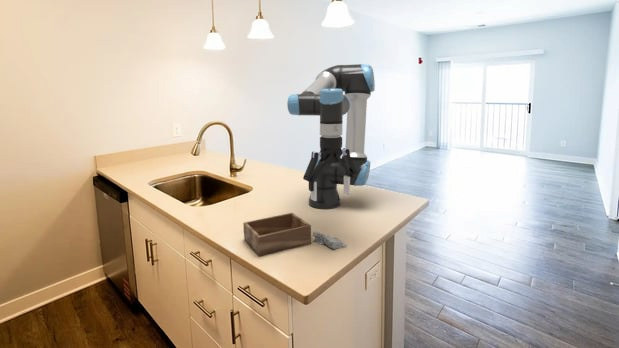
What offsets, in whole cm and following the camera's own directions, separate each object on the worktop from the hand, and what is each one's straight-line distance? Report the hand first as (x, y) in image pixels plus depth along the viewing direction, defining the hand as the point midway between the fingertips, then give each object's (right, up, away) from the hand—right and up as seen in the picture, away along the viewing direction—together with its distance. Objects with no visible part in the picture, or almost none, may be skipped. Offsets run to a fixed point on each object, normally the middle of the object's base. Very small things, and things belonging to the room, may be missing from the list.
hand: (330, 197), depth 121 cm
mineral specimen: (0, -18, +4) cm, 18 cm away
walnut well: (-19, -17, +6) cm, 26 cm away
